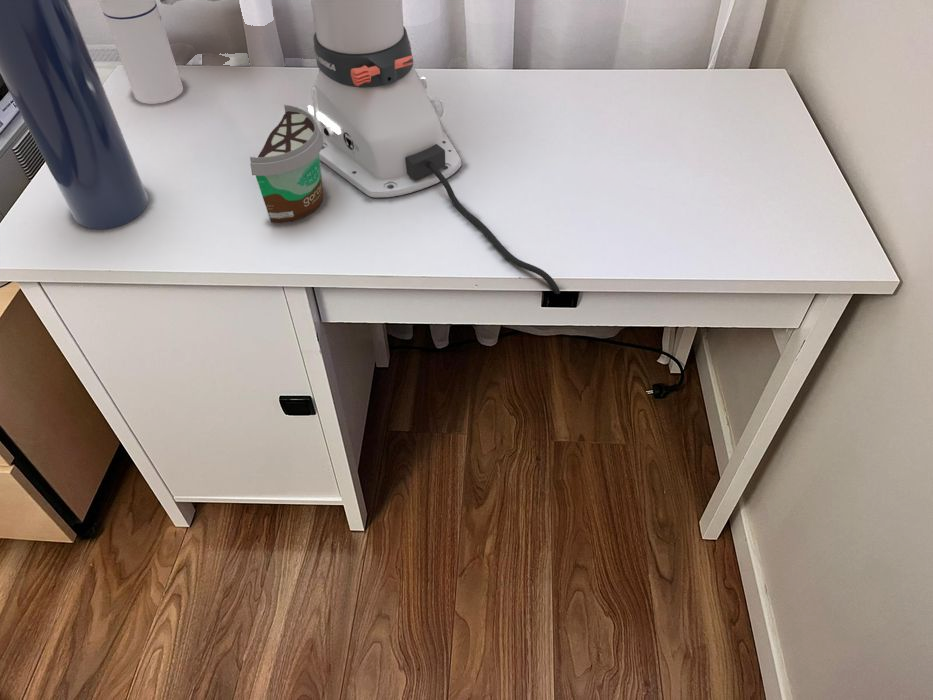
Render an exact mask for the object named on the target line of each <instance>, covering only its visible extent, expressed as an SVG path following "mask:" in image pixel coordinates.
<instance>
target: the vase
mask: <svg viewBox="0 0 933 700" xmlns="http://www.w3.org/2000/svg"><path fill="white" fill-rule="evenodd" d="M0 76H1V78H2V80H3V82H4V83H5V85H6V87H7V90H8V91H9V93H10V95H11V97H12V99H13V102H14V103H15V105H16V107H17V110H18V111H19V113H20V115H21V118H22V119H23V121H24V123H25V125H26V126H27V129H28V131H29V133H30V135H31V136H32V138H33V141H34V142H35V145H36V147H37V148H38V151H39V152H40V155H41V156H42V158H43V160H44V162H45V164H46V166H47V168H48V170H49V172H50V174H51V176H52V178H53V179H54V182H55V183H56V186H57V188H58V190H59V192H60V193H61V195H62V197H63V199H64V202H65V203H66V206H67V207H68V209H69V211H70V214H71V216H72V217H73V220H75V222H76V223H77V224H78V225H80V226H82V227H84V228H87V229H91V230H92V229H93V230H107V229H108V230H109V229H114V228H117V227H121V226H123V225H125V224H128V223H130V222H132V221H134V220H135V219H137V218H138V217H139V216H140V215H141V214H143V212H145V210H146V208H147V206H148V203H149V197H148V194H147V191H146V189H145V187H144V184H143V181H142V179H141V177H140V175H139V172H138V169H137V167H136V164H135V162H134V159H133V156H132V154H131V152H130V150H129V147H128V145H127V141H126V139H125V137H124V134H123V132H122V130H121V127H120V124H119V122H118V120H117V118H116V115H115V112H114V110H113V108H112V104H111V103H110V99H109V98H108V97H109V96H108V95H107V93H106V90H105V87H104V84H103V83H102V80H101V78H100V74H99V72H98V71H97V67H96V66H95V62H94V60H93V58H92V55H91V52H90V50H89V48H88V45H87V43H86V41H85V38H84V36H83V33H82V31H81V28H80V26H79V23H78V21H77V18H76V16H75V13H74V11H73V8H72V6H71V3H70V1H69V0H0Z"/></svg>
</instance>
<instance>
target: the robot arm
mask: <svg viewBox="0 0 933 700" xmlns="http://www.w3.org/2000/svg"><path fill="white" fill-rule="evenodd" d="M179 1H182V0H159V2H160V3H161V4H163V5H168V6H173V5H174V4H176V3H177V2H179ZM208 1H209V2H217V1H220V0H208ZM310 5H311V11H312V17H313V23H314V30H315V32H314V35H313V52H314V56H315V60H316V65H317V67H318V69H319V70H318V74H317V77H316V80H315V82H314V84H313V85H312V88H311V91H310V92H311V93H310V94H311V102H312V106H311V105H307V108H308V113H309V114H310V115H311V116H313V119H314V120H315V121H316V123H317V125H318V127H319V129H320V132H321V134H322V136H323V146H322V149H321V151H320V152H319V158H320V162H322V163H323V164H325V165H326V166H327V167H328V168H330V169H331V170H333V171H334V172H335V173H336V174H338V175H339V176H340V177H342V178H343V179H344V180H346V181H347V182H348V183H350V184H351V185H353V186H354V187H355V188H357V189H358V190H359V191H360V192H362V193H363V194H365V195H366V196H368V197H370V198H392V197H397V196H403V195H408V194H411V193H415V192H418V191H421V190H424V189H426V188H428V187H429V188H430V187H431V186H433V185H436V184H439V183H441V184H442V186H443V187H444V189H445V191H446V194H447V195H448V197H449V200H450V201H451V204H453V206H454V207H455V208H456V209H457V210H458V211H459V212H460V214H461V215H463V216H464V217H465V218H466V219H468V220H469V221H470V222H471V223H473V224H474V225H475V226H476V227H477V228H478V229H479V230H480V231H481V232H482V233H483V234H484V235H485V236H486V237H487V238H488V240H489V241H490V242H491V243H492V245H493V246H494V247H495V249H497V251H498V252H499V253H500V254H502V256H503V257H505V258H506V259H507V260H508V261H509V262H511V263H512V264H514V265H515V266H517V267H519V268H521V269H523V270H525V271H528V272H531V273H533V274H536V275H538V276H539V277H541V278H542V279H543V280H544V281H545V282H546V283H547V284H548V286H549V287H550V288H551V290H552V293H554V294H555V295H560V294H561V289H560V288H559V285H558V284H557V283H556V281H555V280H554V279H553V277H552V276H551V275H550V274H549V273H547V272H546V270H543V269H542V268H540V267H538V266H535V265H533V264H531V263H528V262H525V261H523V260H521V259H519V258H518V257H516V256H515V255H513V254H512V253H511V252H510V251H509V250H508V249H506V247H505V246H504V245H503V244H502V243H501V242H500V240H498V238H497V237H496V236H495V234H494V233H493V232H492V231H491V229H489V227H487V226H486V225H485V224H484V223H483V222H482V221H481V220H480V219H479V218H477V217H476V216H475V215H474V214H473V213H471V212H470V211H469V210H468V209H466V208H465V207H464V205H462V203H461V202H460V201H459V199H458V198H457V196H456V194H455V192H454V190H453V188H452V186H451V184H450V183H449V181H448V180H447V179H448V178H450V177H452V176H453V175H454V174H455V173H456V172H457V171H458V170H459V169H460V168H461V167H462V160H461V157H460V155H459V154H458V152H457V149H456V148H455V147H454V145H453V143H452V142H451V140H450V139H449V137H448V135H447V134H446V132H445V131H444V129H443V127H442V126H441V121H440V117H442V116H443V115H444V107H443V103H442V101H441V99H439V98H433V99H430V96H429V94H428V93H427V90H426V89H427V87H428V84H427V80H426V77H424V76H422V77H421V78H420V75H419V74H418V72H417V70H416V68H415V66H414V56H413V53H412V45H411V41H410V38H409V35H408V32H407V29H406V27H405V25H404V11H403V10H404V9H403V8H404V5H403V0H310Z"/></svg>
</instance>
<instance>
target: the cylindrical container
mask: <svg viewBox="0 0 933 700" xmlns="http://www.w3.org/2000/svg"><path fill="white" fill-rule="evenodd" d="M98 3H99V6H100V8H101V11H102V14H103V16H104V19H105V22H106V24H107V27H108V31H109V32H110V35H111V38H112V41H113V43H114V46H115V48H116V51H117V54H118V57H119V60H120V62H121V65H122V67H123V70H124V72H125V75H126V78H127V80H128V84H129V86H130V88H131V91H132V94H133V97H134V99H135V100H136V101H138V102H140V103H142V104H146V105H147V104H149V105H153V104H154V105H156V104H162V103H166V102H169V101H172V100H174V99H176V98H178V97H179V96H180V95H181V94H182V93H183V90H184V86H183V82H182V80H181V77H180V73H179V70H178V67H177V63H176V61H175V57H174V55H173V50H172V48H171V45H170V42H169V39H168V35H167V32H166V28H165V26H164V22H163V19H162V16H161V14H160V10H159V6H158V4H157V1H156V0H98Z"/></svg>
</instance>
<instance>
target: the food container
mask: <svg viewBox="0 0 933 700" xmlns="http://www.w3.org/2000/svg"><path fill="white" fill-rule="evenodd" d="M283 108H284V114H283V116H282V118H281V120H280V121H279V123H278V124H277V125H276V126H275V127H274V128H273V129H272V131H271V132H270V133H269V135H268V137H267V139H266V141H265V143H264V145H263V147H262V149H261V151H260V152H259V154H258V155H257V156H250V157H249V159H250V164H249V165H250V171H251V176H255V178H256V182H257V185H258V187H259V190H260V194H261V196H262V199H263V202H264V206H265V208H266V211H267V214H268V218H269V220H270V223H276V224H282V223H283V224H284V223H292V222H296V221H299V220H302V219H305V218H307V217H308V216H310V215H312V214H314V213H315V212H316V211H317V210H318V209H320V207H321V205H322V203H323V201H324V193H323V180H322V169H321V160H320V158H319V152H320V151H321V149H322V146H323V136H322V134H321V132H320V129H319V127H318V125H317V123H316V121H315V120H314V116H313V115H312V114H311V113H310V112H309V111H306V110H305V109H302V108H300V107H297V106H293V105H289V104H283Z"/></svg>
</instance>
